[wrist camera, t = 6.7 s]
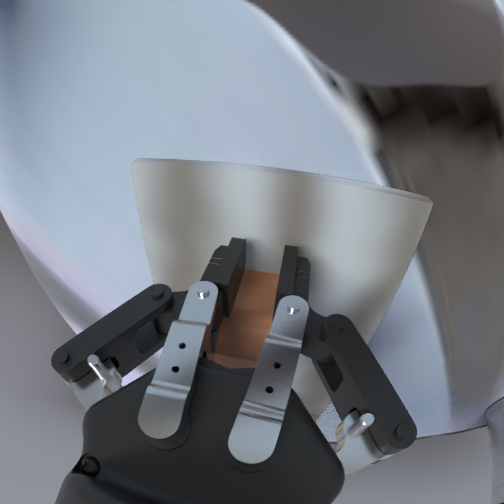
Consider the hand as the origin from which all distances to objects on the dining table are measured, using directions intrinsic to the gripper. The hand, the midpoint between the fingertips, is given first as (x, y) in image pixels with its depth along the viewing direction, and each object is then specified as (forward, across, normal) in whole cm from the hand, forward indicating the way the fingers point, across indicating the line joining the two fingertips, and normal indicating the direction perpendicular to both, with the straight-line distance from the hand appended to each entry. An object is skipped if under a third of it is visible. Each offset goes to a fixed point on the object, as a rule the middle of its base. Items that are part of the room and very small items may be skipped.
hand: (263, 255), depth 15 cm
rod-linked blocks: (+1, 0, +12) cm, 12 cm away
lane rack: (+1, 0, +15) cm, 15 cm away
